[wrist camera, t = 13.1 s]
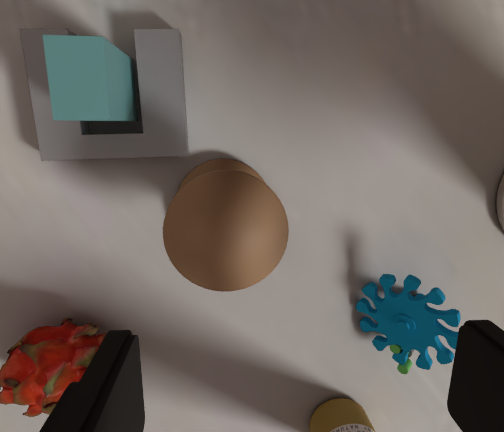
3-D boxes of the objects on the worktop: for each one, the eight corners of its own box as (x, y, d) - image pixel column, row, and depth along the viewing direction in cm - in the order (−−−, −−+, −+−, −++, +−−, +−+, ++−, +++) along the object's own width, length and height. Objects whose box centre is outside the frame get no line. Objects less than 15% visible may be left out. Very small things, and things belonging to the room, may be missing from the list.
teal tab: (133, 60, 31) (102, 36, 22) (137, 121, 32) (109, 120, 24) (90, 59, 31) (42, 34, 22) (96, 120, 32) (53, 120, 23)
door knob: (270, 157, 34) (288, 169, 26) (270, 248, 37) (288, 287, 28) (172, 160, 33) (157, 173, 25) (179, 252, 36) (168, 295, 27)
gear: (357, 265, 36) (471, 302, 30) (380, 243, 40) (484, 272, 34) (349, 353, 40) (448, 400, 35) (370, 324, 45) (462, 362, 39)
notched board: (181, 34, 31) (178, 28, 29) (188, 154, 33) (187, 156, 32) (32, 34, 30) (19, 29, 28) (51, 158, 32) (41, 160, 30)
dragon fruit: (142, 325, 39) (40, 346, 40) (97, 291, 32) (-23, 318, 34) (135, 414, 34) (19, 435, 35) (80, 396, 27) (-61, 423, 29)
